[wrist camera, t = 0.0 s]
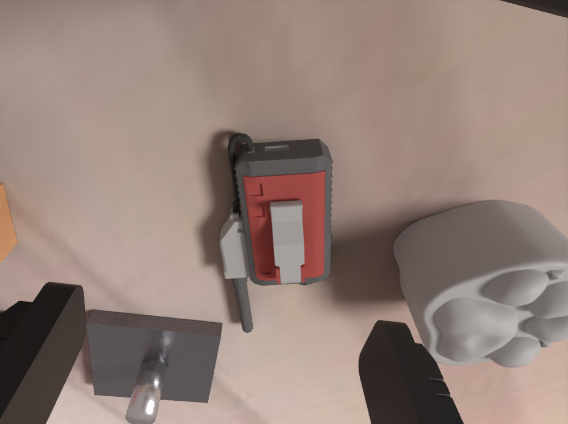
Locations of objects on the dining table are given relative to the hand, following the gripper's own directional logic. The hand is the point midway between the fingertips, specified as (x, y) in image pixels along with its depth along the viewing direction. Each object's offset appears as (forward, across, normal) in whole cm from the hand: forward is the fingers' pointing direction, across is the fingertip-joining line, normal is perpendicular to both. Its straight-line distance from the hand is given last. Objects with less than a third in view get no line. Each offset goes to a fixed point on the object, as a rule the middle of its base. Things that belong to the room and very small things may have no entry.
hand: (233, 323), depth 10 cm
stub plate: (+18, +5, +27) cm, 33 cm away
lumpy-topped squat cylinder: (+18, -21, +8) cm, 29 cm away
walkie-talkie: (+18, -4, +10) cm, 21 cm away
